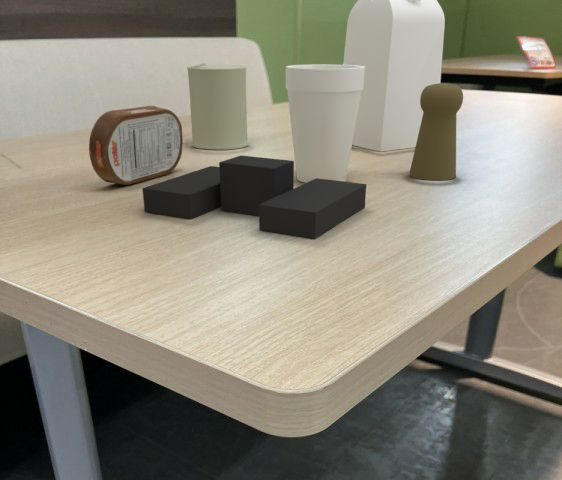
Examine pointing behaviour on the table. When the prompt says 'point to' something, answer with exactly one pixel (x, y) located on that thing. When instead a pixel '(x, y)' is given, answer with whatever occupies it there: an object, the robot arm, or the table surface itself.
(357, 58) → the milk
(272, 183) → the black rectangular block
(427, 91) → the olive knobbed tapered post
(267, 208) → the pad pair
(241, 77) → the can
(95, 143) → the tin
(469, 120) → the table surface
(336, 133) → the foam cup
